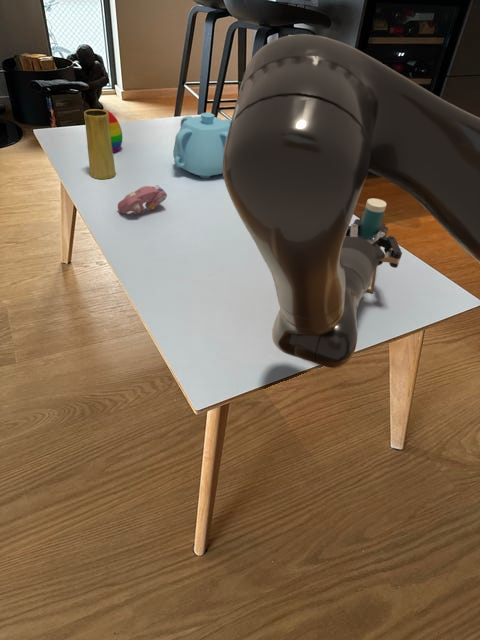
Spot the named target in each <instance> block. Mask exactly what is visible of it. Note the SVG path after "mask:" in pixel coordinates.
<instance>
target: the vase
mask: <svg viewBox="0 0 480 640" xmlns="http://www.w3.org/2000/svg"><path fill="white" fill-rule="evenodd" d="M105 110H106V109H99V108H92V109H91V108H90V109H86V110H85V111H83V114H84V116H83V117H84V123H85V124H84V125H85V133H86V135H85V136H86V143H87V144H86V145H87V154H88V155H87V156H88V165H89V176H90V177H92V178H93V179H96V180H108V179H111V178H114V177H116V175H117V172H116V165H115V159H114V158H115V157H114V152H113V151H112V144H111V135H110V126H109V115H108V112H107V111H108V110H107V111H105Z"/></svg>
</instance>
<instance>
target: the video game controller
mask: <svg viewBox="0 0 480 640" xmlns="http://www.w3.org/2000/svg"><path fill="white" fill-rule="evenodd" d="M167 197H168V194H167V193H166V191H165V190H164V189H163V188H162V187H160V186H159V185H158V184H157V185H155V186H152V185H151V186H148V185H147V186H141V187H139V188H138V189H137V190H135V191H131V192H129V194H127V195H126V196H125V197H124V198H123V199H121V200H120V201H119V202H118V203H117V210H118V212H119V213H121V214H127V213H130V212H133V213H134V214H135V215H140V214H142V213H143V212H144V211H145V208H146V210H147V211H153V210H154V209H156V207H158V206H159V204H161V203H163V202H164V201H165V200H166V199H167ZM143 204H145V205H143Z"/></svg>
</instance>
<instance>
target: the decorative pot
mask: <svg viewBox="0 0 480 640" xmlns="http://www.w3.org/2000/svg"><path fill="white" fill-rule="evenodd" d="M231 120H232V119H229V118H226V119H222V118H219V117H217V116H215V114H214V113H212V112H202V113H200V116H195V117H192V116H190V115H188V116H184V117H182V118H181V119H180V127H179V130H178V132H177V133H176V135H175V138H174V145H173V153H172V154H173V159H174V160H173V163H174V165H175V166H177V167H179V168H181V169H183V170H184V171H187V172H188V173H191V174H193V175H196V176H199V178H202V179H209V178H211V176H217V175H221V174H223V155H224V147H225V142H226V138H227V135H228V131H229V128H230V124H231Z"/></svg>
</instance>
